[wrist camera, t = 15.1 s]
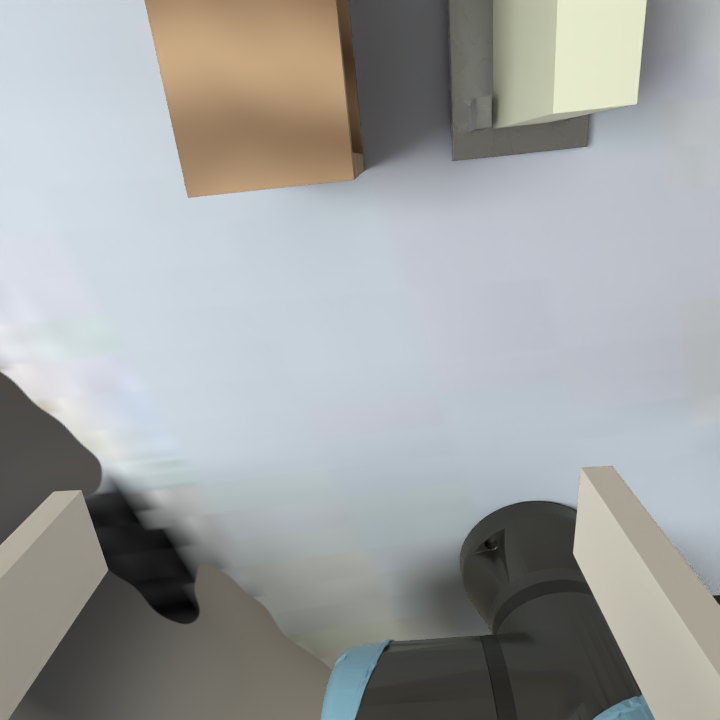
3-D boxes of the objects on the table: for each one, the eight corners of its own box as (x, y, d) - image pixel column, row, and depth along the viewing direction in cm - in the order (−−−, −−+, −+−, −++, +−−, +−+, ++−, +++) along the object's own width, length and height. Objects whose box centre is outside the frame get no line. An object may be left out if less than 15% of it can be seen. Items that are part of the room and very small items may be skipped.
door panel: (560, 120, 37) (657, 101, 24) (493, 128, 38) (553, 113, 25) (569, -80, 33) (694, -236, 20) (492, -69, 33) (565, -215, 20)
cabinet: (364, 170, 40) (353, 180, 23) (266, 181, 41) (188, 197, 24) (341, -80, 34) (305, -306, 17) (227, -63, 35) (85, -267, 18)
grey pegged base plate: (581, 146, 39) (603, 145, 35) (452, 160, 39) (460, 161, 36) (597, -117, 33) (625, -151, 29) (444, -94, 34) (452, -126, 30)
